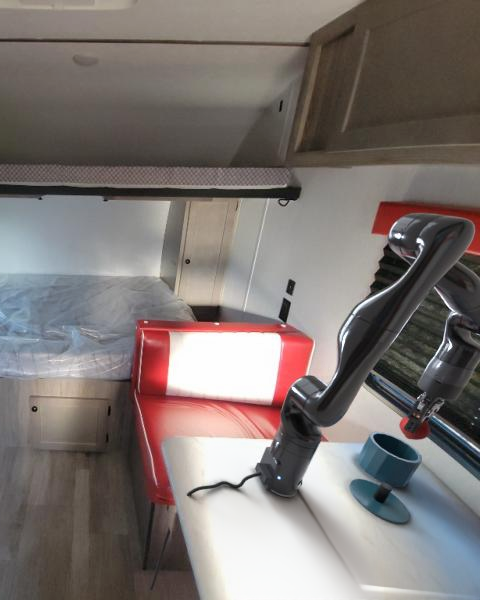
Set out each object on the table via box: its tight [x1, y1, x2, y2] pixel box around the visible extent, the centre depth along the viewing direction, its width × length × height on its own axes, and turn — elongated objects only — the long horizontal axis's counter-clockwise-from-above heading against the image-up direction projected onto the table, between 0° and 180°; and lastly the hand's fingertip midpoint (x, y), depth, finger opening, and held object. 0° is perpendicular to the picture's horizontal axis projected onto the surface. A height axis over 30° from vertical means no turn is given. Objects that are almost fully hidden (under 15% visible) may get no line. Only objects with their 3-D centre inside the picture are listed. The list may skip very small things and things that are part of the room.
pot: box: [356, 431, 423, 488], centre depth 99 cm, size 12×12×10 cm
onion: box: [398, 414, 431, 441], centre depth 91 cm, size 6×6×8 cm
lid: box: [349, 478, 410, 525], centre depth 89 cm, size 13×13×6 cm
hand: (413, 427), depth 91 cm, fingers closed on onion, 6 cm apart
